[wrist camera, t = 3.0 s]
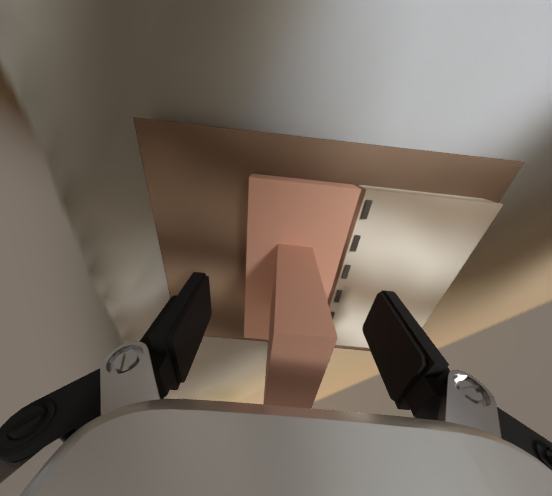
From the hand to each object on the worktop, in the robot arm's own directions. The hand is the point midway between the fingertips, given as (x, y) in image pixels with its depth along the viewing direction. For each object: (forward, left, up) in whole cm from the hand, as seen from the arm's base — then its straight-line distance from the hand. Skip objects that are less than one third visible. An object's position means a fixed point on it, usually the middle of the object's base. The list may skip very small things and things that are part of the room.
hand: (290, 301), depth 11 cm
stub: (0, 0, -3) cm, 3 cm away
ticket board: (0, +1, -5) cm, 5 cm away
